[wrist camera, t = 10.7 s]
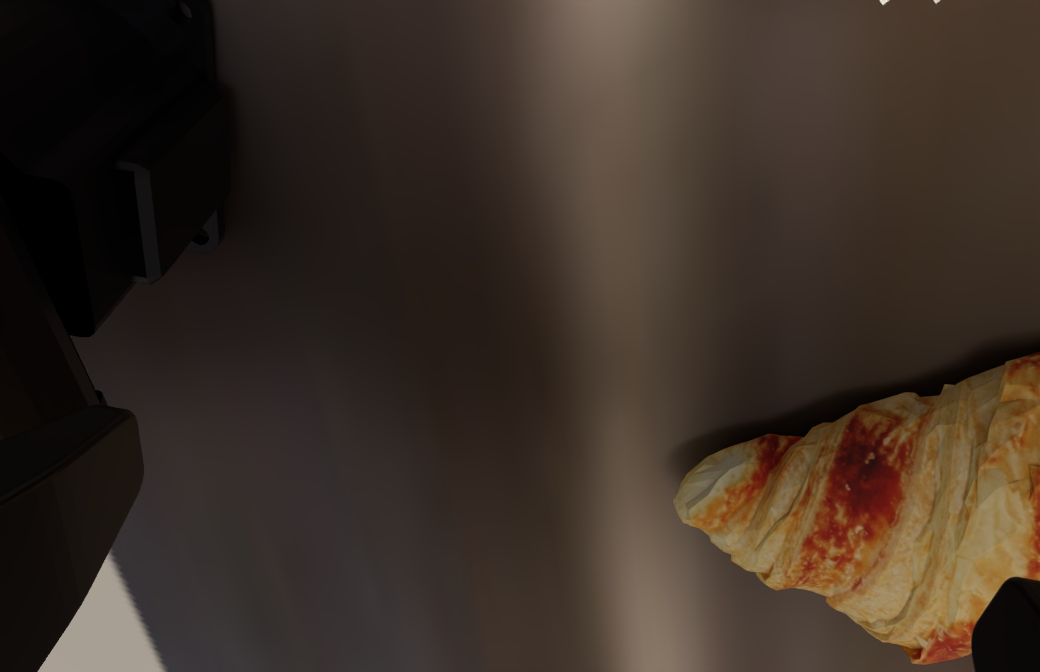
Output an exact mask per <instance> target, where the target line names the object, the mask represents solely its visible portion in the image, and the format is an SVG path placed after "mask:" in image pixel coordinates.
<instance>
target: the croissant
mask: <svg viewBox="0 0 1040 672" xmlns="http://www.w3.org/2000/svg"><path fill="white" fill-rule="evenodd" d="M673 503H674V505H675V508H676V511H677V514H678V516H679V517H680V519H681V520H682V522H683V523H685V524H688V525H690V526H693V527H696V528H700V529H701V530H703V531H704V532H705V533H707V534H708V535H709V537H710V540H711V542H712V543H713V544H715V545H716V546H717V547H719V548H720V549H721V550H722V551H724V552H726V553H729V554H731V561H732V562H734V563H736V564H737V565H739V566H740V567H742V568H744V569H745V570H747V571H752V572H755V573H756V575H757V576H758V578H759V579H760V580H761V581H762V582H763V583H764V584H766V585H767V586H769V587H771V588H772V589H774V590H782V589H788V588H798V589H804V590H810V591H813V592H816V593H818V594H821V595H823V596H826V601H827V603H828V604H829V605H830V606H831V607H832V608H834V609H836V610H837V611H840V612H843V613H846V614H847V615H848V616H849V617H850V618H851V619H852V620H853V621H855V622H856V623H857V624H860V625H861V626H862V627H863V628H864V629H865V630H866V631H867V632H868V633H869V634H871V635H872V636H874V637H876V638H877V639H879V640H880V641H882V642H890V643H892V644H898V645H901V646H902V648H903V649H904V650H905V652H906V653H907V654H908V656H909V657H910V660H911V662H912V663H914V664H924V665H925V664H930V663H936V662H941V661H946V660H951V659H957V658H960V657H963V656H966V655H969V654H972V652H971V638H972V632H973V629H974V626H975V624H976V622H977V621H978V619H979V618H980V616H981V615H982V613H983V612H984V610H985V609H986V607H987V606H988V604H989V603H990V601H991V600H992V599H993V597H994V596H995V594H996V593H997V591H998V590H999V588H1000V587H1001V585H1002V584H1003V583H1004V582H1005V581H1006V580H1007V579H1009V578H1011V577H1023V578H1028V579H1033V580H1039V581H1040V352H1039V353H1035V354H1031V355H1028V356H1024V357H1021V358H1017V359H1014V360H1010V361H1007V362H1005V365H1002V366H999V367H995V368H993V369H990V370H988V371H985V372H982V373H980V374H977V375H975V376H972V377H969V378H967V379H965V380H963V381H961V382H959V383H958V384H956V385H948V384H944V387H943V389H942V392H941V394H940V395H937V396H927V397H919V396H918V395H917V394H916V393H909V392H904V393H901V394H898V395H895V396H891V397H888V398H885V399H882V400H878V401H875V402H872V403H868V404H864V405H860V406H859V407H857V408H856V409H855V410H854V411H852V412H850V413H848V414H846V415H844V416H843V417H841V418H840V419H838V420H837V421H835V422H833V423H822V424H819V425H817V426H815V427H813V428H811V430H810V431H809V432H808V434H807V435H806V436H805V437H799V436H780V435H775V434H767V435H764V436H761V437H759V438H756V439H753V440H750V441H747V442H743V443H740V444H737V445H734V446H731V447H728V448H725V449H723V450H721V451H719V452H716V453H714V454H712V455H710V456H708V457H706V458H705V459H704V460H703V461H701V462H700V463H699V464H698V465H697V466H695V467H694V468H693V469H692V470H691V471H689V472H688V473H687V474H686V476H685V478H684V479H683V481H682V482H681V483H680V486H679V490H678V492H677V494H676V497H675V498H674V500H673Z"/></svg>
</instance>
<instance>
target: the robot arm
mask: <svg viewBox="0 0 1040 672" xmlns="http://www.w3.org/2000/svg"><path fill="white" fill-rule="evenodd" d="M177 1H181V2H183V3H185V4H186V5H187V6H188V7H189V8H190V11H191V14H192V18H191V19H187V18H185V17H183V16H182V15H181V14H180V13H179V12H178V10H177V7H176V2H177ZM230 191H231V179H230V162H229V145H228V128H227V111H226V97H225V95H224V94H223V92H222V91H221V89H220V88H219V87H218V85H216V84H215V73H214V58H213V42H212V27H211V12H210V7H209V3H208V1H207V0H0V672H37V671H38V670H39V669H40V667H41V666H42V664H43V662H44V661H45V660H46V658H47V657H48V655H49V654H50V652H51V650H52V649H53V648H54V646H55V645H56V643H57V642H58V640H59V638H60V637H61V636H62V634H63V633H64V631H65V630H66V628H67V627H68V625H69V624H70V622H71V620H72V619H73V617H74V616H75V614H76V612H77V610H78V609H79V608H80V606H81V605H82V602H83V601H84V599H85V597H86V595H87V594H88V592H89V590H90V588H91V586H92V584H93V582H94V580H95V578H96V576H97V574H98V572H99V570H100V568H101V566H102V564H103V562H104V560H105V559H106V557H107V555H108V553H109V551H110V549H111V547H112V545H113V543H114V541H115V539H116V537H117V535H118V533H119V531H120V529H121V527H122V525H123V523H124V521H125V519H126V517H127V515H128V513H129V511H130V509H131V507H132V505H133V503H134V501H135V499H136V497H137V495H138V493H139V491H140V488H141V485H142V481H143V475H144V463H143V457H142V450H141V443H140V437H139V430H138V423H137V419H136V417H135V415H134V414H133V413H132V412H131V411H129V410H126V409H121V408H115V407H110V406H108V404H107V402H106V400H105V398H104V395H103V393H102V392H101V391H98V390H95V388H94V386H93V384H92V382H91V380H90V378H89V376H88V374H87V371H86V369H85V367H84V365H83V363H82V361H81V359H80V357H79V354H78V352H77V350H76V348H75V346H74V344H73V342H72V340H71V338H70V335H73V336H79V337H90V336H91V335H93V334H94V333H95V332H96V331H97V329H98V328H99V327H100V326H101V325H102V323H103V322H104V321H105V320H106V319H107V317H108V316H109V315H110V314H111V312H112V311H113V310H114V309H115V308H116V306H117V305H118V304H119V303H120V302H121V300H122V299H123V298H124V297H125V296H126V294H127V293H128V292H129V291H130V290H131V288H132V287H133V286H134V285H135V284H136V282H139V283H145V284H150V285H152V284H153V283H155V282H156V281H157V280H159V279H160V278H161V277H163V276H164V275H165V273H166V272H167V271H168V270H169V268H170V267H171V266H172V265H173V263H174V262H175V261H176V260H177V258H178V257H179V256H180V255H181V253H182V252H183V251H184V250H186V251H191V252H197V253H209V252H212V251H214V250H215V248H216V247H217V246H218V245H219V243H220V242H221V241H222V239H223V238H224V233H225V227H224V212H223V201H224V199H225V198H226V197H227V196H228V194H229V193H230ZM201 228H202V229H204V230H205V231H206V232H207V233H208V236H209V237H205V236H203V235H200V234H199V233H198V232H199V231H200V229H201ZM971 652H972V658H973V664H974V669H975V672H1040V581H1039V580H1033V579H1028V578H1023V577H1011V578H1009V579H1007V580H1006V581H1005V582H1004V583H1003V584H1002V585H1001V587H1000V588H999V590H998V591H997V593H996V594H995V596H994V597H993V599H992V600H991V601H990V603H989V604H988V606H987V607H986V609H985V610H984V612H983V613H982V615H981V616H980V618H979V619H978V621H977V622H976V624H975V626H974V629H973V632H972V638H971Z"/></svg>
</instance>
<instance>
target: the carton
mask: <svg viewBox="0 0 1040 672" xmlns="http://www.w3.org/2000/svg"><path fill="white" fill-rule="evenodd" d="M888 1H889V0H880V2H881V3H882V5H884V4H885V3H886V2H888ZM939 1H940V0H934V2H935V3H937V2H939Z"/></svg>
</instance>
